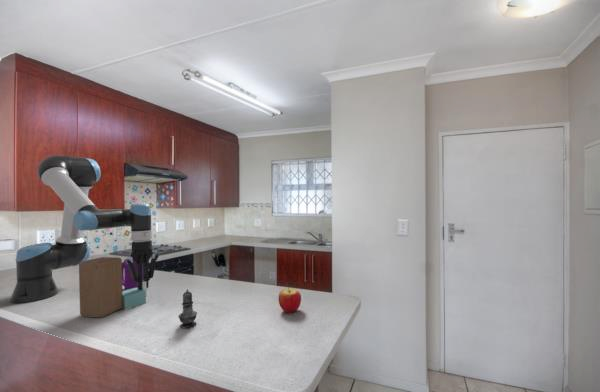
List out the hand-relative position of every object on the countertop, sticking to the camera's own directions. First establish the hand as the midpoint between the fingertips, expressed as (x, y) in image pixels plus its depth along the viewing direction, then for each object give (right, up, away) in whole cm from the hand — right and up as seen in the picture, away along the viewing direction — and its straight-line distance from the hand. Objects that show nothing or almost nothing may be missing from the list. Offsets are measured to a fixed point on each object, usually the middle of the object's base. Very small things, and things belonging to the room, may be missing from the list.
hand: (143, 296), depth 119 cm
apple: (+62, 0, -15) cm, 64 cm away
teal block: (-3, -2, -4) cm, 5 cm away
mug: (-14, -2, +15) cm, 20 cm away
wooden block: (-9, -2, -12) cm, 15 cm away
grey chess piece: (+29, -1, -25) cm, 38 cm away
